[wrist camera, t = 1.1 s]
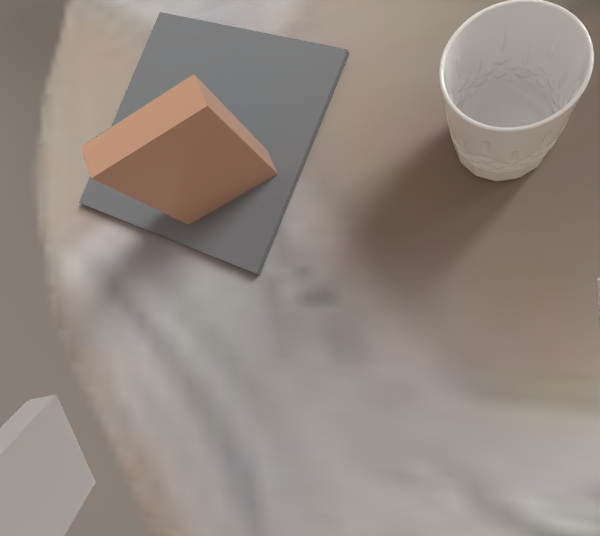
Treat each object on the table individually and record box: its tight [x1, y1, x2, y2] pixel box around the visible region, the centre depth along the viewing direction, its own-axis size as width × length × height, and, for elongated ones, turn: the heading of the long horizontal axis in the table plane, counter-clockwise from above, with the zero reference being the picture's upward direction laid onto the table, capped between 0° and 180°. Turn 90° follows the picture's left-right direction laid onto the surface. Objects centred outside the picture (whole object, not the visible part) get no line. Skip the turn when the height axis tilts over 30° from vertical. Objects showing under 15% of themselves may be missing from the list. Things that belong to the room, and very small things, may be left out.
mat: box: [79, 12, 349, 275], centre depth 45 cm, size 20×20×1 cm
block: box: [81, 74, 278, 225], centre depth 37 cm, size 3×9×12 cm, turn 114°
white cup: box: [439, 0, 594, 181], centre depth 32 cm, size 8×8×10 cm
